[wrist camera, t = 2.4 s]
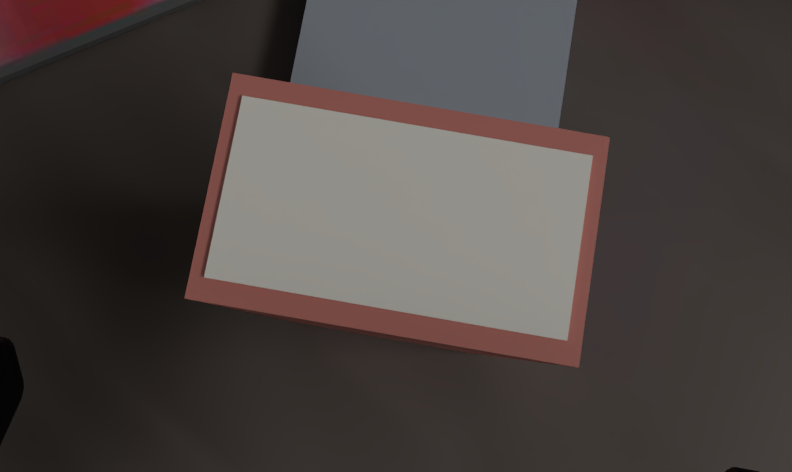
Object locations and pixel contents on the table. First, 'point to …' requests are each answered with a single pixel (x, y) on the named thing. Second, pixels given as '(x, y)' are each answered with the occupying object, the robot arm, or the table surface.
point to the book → (401, 221)
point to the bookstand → (442, 53)
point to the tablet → (68, 28)
